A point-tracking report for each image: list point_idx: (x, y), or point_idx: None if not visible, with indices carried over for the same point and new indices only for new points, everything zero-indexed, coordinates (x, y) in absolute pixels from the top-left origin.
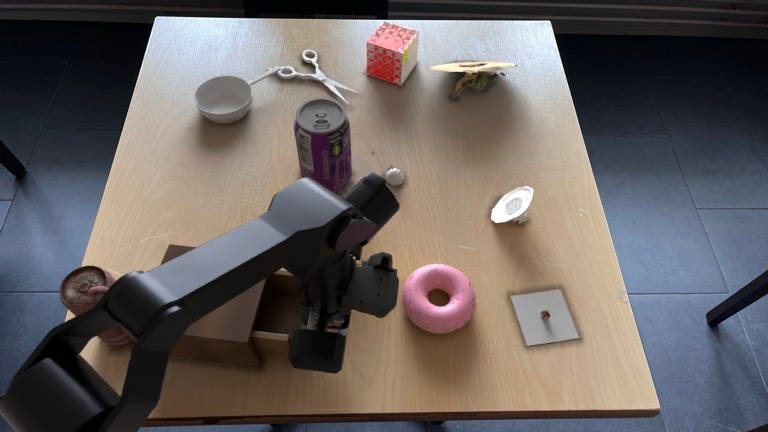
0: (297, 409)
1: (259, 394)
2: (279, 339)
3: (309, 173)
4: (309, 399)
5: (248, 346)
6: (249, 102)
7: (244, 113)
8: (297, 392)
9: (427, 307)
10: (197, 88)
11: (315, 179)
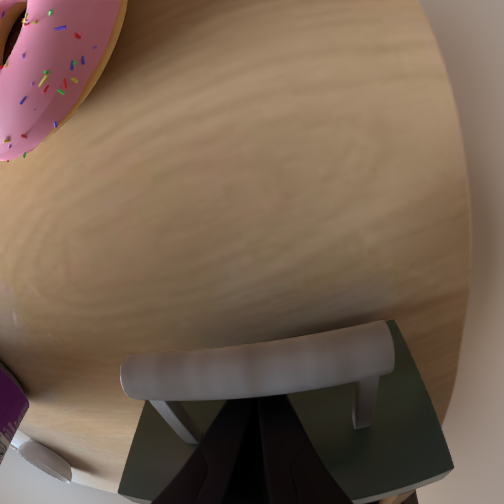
0: (467, 297)
1: (433, 366)
2: (408, 496)
3: (8, 428)
4: (450, 283)
5: (417, 501)
6: (26, 451)
7: (38, 448)
8: (435, 313)
9: (29, 22)
10: (59, 479)
11: (7, 415)
